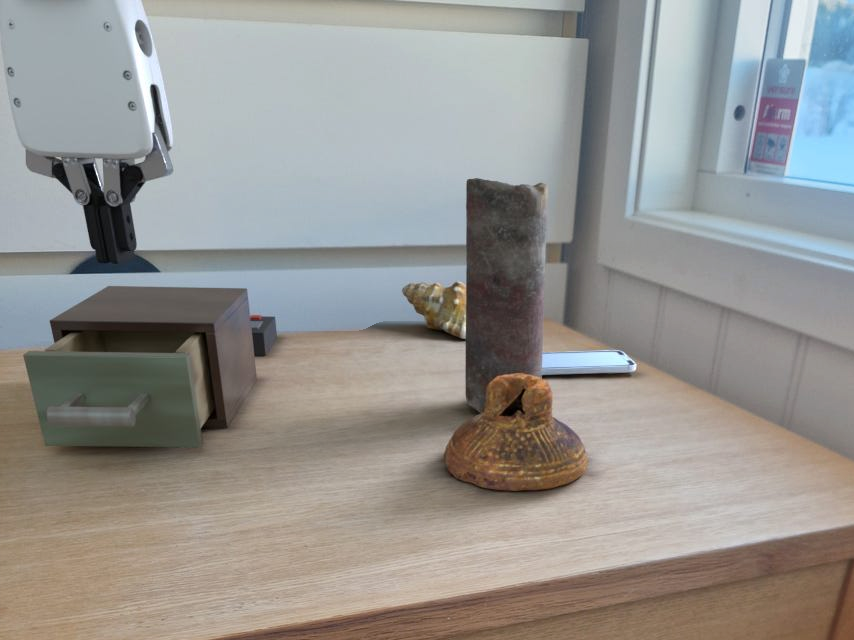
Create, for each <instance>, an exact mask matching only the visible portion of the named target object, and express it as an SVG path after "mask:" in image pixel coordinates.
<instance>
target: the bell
mask: <svg viewBox="0 0 854 640" xmlns="http://www.w3.org/2000/svg"><path fill="white" fill-rule="evenodd" d="M553 398H554V394H553V391H552V388H551V385H550V383H549V382H548V381H547V380H545V379H544V378H542V379H541V378H539V377H536V376H533V375H527V374H523V373H516V374H510V375H502V376H497V377H496V378H494V379H493V380H492V381H491V382H490V383H489V384H488V385H487V389H486V405H485V410H484V412H483V413H481V414H480V413H478V414H476V415H474V416H472V417H471V418H469V419H468V420H466V421H464V422H463V423H462V424H461V425H460V426H458V427H457V428H456V429H455V431H453V433H452V435H451V437H450V439H449V441H448V443H447V444H446V447H445V450H444V453H443V460H444V465H445V467H446V469H447V471H448V472H449V473H450V474H452V475H453V476H454V478H456V479H458V480H460V481H462V482H465V483H471V484H474V485H475V486H478V487H479V488H483V489H489V490H499V491H509V492H510V491H511V492H519V491H539V490H547V489H549V490H550V489H553V488H557V487H559V486H564V485H567V484H570V483H572V482H574V481H576V480H577V479H578V478H580V477H582V475H583V474H584V473H585V471H586V469H587V467H588V461H589V460H588V453H587V451H586V447H585V445H584V443H583V442H582V440H581V438H580V436H579V434H577V433H576V432H575V431H574V429H572V428H570V427H569V425H567V424H566V423H564V422H562V421H560V420H558V419H557V418H556V417H554V416H553V403H554V401H553V400H554V399H553Z"/></svg>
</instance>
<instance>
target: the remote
mask: <svg viewBox="0 0 854 640" xmlns="http://www.w3.org/2000/svg"><path fill="white" fill-rule="evenodd" d="M250 320H251V329H252V338H253V347H254V356H255V357H266V356H267V354H268V353H269V351H270V350H271V348H272V347H273V345H274V344H275V342H276V341H277V339H278V333H277V321H276V317H275V316H265V315H263V316H262V314H260V315H259V314H250Z"/></svg>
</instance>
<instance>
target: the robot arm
mask: <svg viewBox="0 0 854 640" xmlns="http://www.w3.org/2000/svg"><path fill="white" fill-rule="evenodd" d="M0 44H1V53H2V61H3V69H4V77H5V82H6V89H7V93H8V99H9V105H10V110H11V115H12V118H13V123H14V127H15V131H16V134H17V137H18V140H19V142H20V144H21V145H22V147H23V148H24V150H25V166H26V167H27V169H28V171H30V172H32V173H35V174H38V175H42V176H45V177H47V178H51V179H56V180H57V181H59V183H60V184H61V185H62V186H63V187H64V188H65V189H66V190H67V191H68V192H70V193H71V194H72V196H73V199H74V201H75V202H76V203H77V204H78V205H80V206H82V208H83V213H84V219H85V224H86V229H87V233H88V234H87V235H88V240H89V245H90V246H91V248H92V249H93V250H94V252H95V257H96V261H97V263H99V264H106V265H107V264H110V263H111V264H113V265H122V264H124V263H127V262H130V261H132V260H134V259H135V251H136V250H137V246H138V244H137V236H136V231H135V224H134V218H133V213H132V212H133V211H132V207H131V203H134V202H135V200H136V198H137V197H136V196H137V194H138V193H139V192H140V190H141V189H142V188H143V186H144V185H145V184H146V182H149V181H153V180H158V179H160V178H165V177H168V176H171V175H172V174H173V173H174V165H173V163H172V160H171V157H170V155H169V152H170V151H171V150H172V149H173V144H174V133H173V126H172V120H171V119H172V118H171V113H170V108H169V103H168V98H167V93H166V87H165V84H164V79H163V74H162V70H161V66H160V61H159V57H158V53H157V50H156V46H155V42H154V38H153V35H152V30H151V27H150V23H149V20H148V16H147V13H146V11H145V8H144V5H143V1H142V0H0ZM143 157H144V160H143V161H141V162H138V163H136V162H135V161H136V160H137V159H141V158H143ZM97 159H101V160H102V175H103V176H102V177H103V180H102V177H101V173H100V171H99V168H98V164H97V161H96V160H97Z"/></svg>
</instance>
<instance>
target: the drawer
mask: <svg viewBox="0 0 854 640" xmlns="http://www.w3.org/2000/svg"><path fill="white" fill-rule="evenodd" d="M22 357H23V361H24V364H25V369H26V372H27V377H28V382H29V386H30V390H31V393H32V397H33V402H34V405H35V410H36V414H37V419H38V422H39V426H40V429H41V435H42V438H43V443H44V446H45V447H118V448H119V447H120V448H121V447H125V448H126V447H127V448H129V447H130V448H135V447H136V448H200V447H201V445H202V444H203V437H202V428H201V427H202V426H203V424H204V423H205V422H206V420H207V419H208V417H209V416H210V415H211V413H212V412H213V410H214V409H215V407H216V406H215V399H214V391H213V384H212V377H211V369H210V362H209V354H208V347H207V340H206V332H145V331H79V330H74V331H73V332H71V333H70V334H68V335H66V336H65V337H63V338H62V339H60V340H59V341H57V342H56V343H54V342H53V344H51V345H50V346H48V347H47V348H44V350H28V351H27V352H25V353H23V355H22Z"/></svg>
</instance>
